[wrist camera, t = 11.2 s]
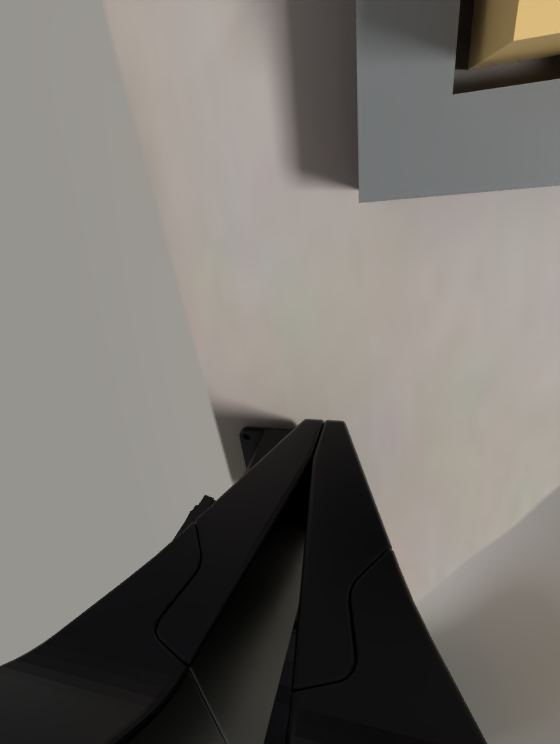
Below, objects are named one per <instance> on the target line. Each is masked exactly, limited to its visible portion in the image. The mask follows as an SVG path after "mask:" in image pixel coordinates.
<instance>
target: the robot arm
mask: <svg viewBox="0 0 560 744" xmlns="http://www.w3.org/2000/svg"><path fill="white" fill-rule="evenodd" d="M246 434H248V435H249V436H247V435H246ZM240 441H241V445H242V450H243V454H244V459H245V463H246V468H247V469H246V472H245V474H244V476H243V477H242V478H240V479H239V480H238V481H237V482H236V483H235V484H234V485H233V486H232V487H231V488H230V489H229V490H228V491H226V493H224V494H223V495H222V496H221V497H220V498H219V499H218V500H217V501H215V500H214V498H212V497H209V496H207V495H205V496H204V497H203V499H202V500H201V502H200V503H199V505H196V506H195V507H194V509H193V510H192V511H190V513H189V515H188V517H187V519H186V521H185V523H184V524H183V526H182V527H181V528H180V530H179V532H178V533H177V535H176V536H175V538H174V539H173V541H172V542H171V543H169V544H168V545H167V546H166V547H165V548H164V549H163V550H161V551H160V552H159V553H158V554H157V555H156V556H155V557H153V558H152V559H151V560H150V561H148V562H147V563H146V564H145V565H144V566H142V567H141V568H140V569H139V570H137V571H136V572H135V573H134V574H132V575H131V576H130V577H129V578H127V579H126V580H125V581H124V582H122V583H121V584H120V585H118V586H117V587H116V588H114V589H113V590H112V591H110V592H109V593H108V594H107V595H105V596H104V597H103V598H102V599H100V600H99V601H98V602H96V603H95V604H94V605H92V606H91V607H90V608H88V609H87V610H86V611H85V612H83V613H82V614H81V615H79V616H78V617H77V618H75V619H74V620H73V621H72V622H70V623H69V624H68V625H66V626H65V627H64V628H63V629H61V630H60V631H59V632H57V633H56V634H55V635H53V636H52V637H51V638H49V639H48V640H46V641H45V642H44V643H42V644H40V645H39V646H37V647H36V648H34V649H32V650H31V651H29V652H28V653H26V654H24V655H22V656H20V657H18V658H16V659H15V660H12V661H10V662H8V663H6V664H4V665H1V666H0V744H487V742H486V740H485V739H484V737H483V735H482V733H481V731H480V729H479V727H478V725H477V723H476V722H475V720H474V718H473V716H472V714H471V712H470V710H469V708H468V706H467V704H466V703H465V701H464V699H463V697H462V695H461V693H460V691H459V689H458V687H457V686H456V684H455V682H454V680H453V678H452V676H451V674H450V672H449V670H448V669H447V667H446V665H445V663H444V661H443V659H442V657H441V655H440V653H439V651H438V649H437V648H436V646H435V644H434V642H433V640H432V638H431V636H430V634H429V632H428V630H427V628H426V626H425V624H424V622H423V620H422V618H421V615H420V614H419V611H418V609H417V607H416V605H415V603H414V601H413V599H412V596H411V594H410V591H409V589H408V587H407V584H406V582H405V579H404V577H403V575H402V572H401V570H400V567H399V564H398V562H397V559H396V556H395V554H394V551H393V550H392V546H391V544H390V541H389V538H388V536H387V533H386V530H385V528H384V525H383V522H382V520H381V517H380V514H379V512H378V509H377V506H376V504H375V501H374V498H373V496H372V493H371V490H370V488H369V485H368V482H367V480H366V477H365V474H364V472H363V469H362V466H361V463H360V461H359V458H358V455H357V453H356V450H355V447H354V445H353V442H352V439H351V437H350V434H349V431H348V429H347V426H346V424H345V422H344V421H336V420H327V421H325V422H324V421H323V420H318V419H305V420H303V421H302V422H301V423H300V424H299V425H298V426H297V427H296V428H295V429H293V430H284V429H268V428H253V427H244V428H243V429H242V430H241V432H240Z"/></svg>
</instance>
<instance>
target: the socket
mask: <svg viewBox="0 0 560 744" xmlns="http://www.w3.org/2000/svg"><path fill="white" fill-rule="evenodd" d="M459 11H460V0H356V49H357V108H358V167H359V203H362V202H374V201H385V200H397V199H408V198H420V197H431V196H443V195H454V194H466V193H477V192H489V191H500V190H512V189H523V188H535V187H546V186H558V185H560V79H554V80H547V81H540V82H534V83H527V84H520V85H513V86H507V87H500V88H493V89H487V90H480V91H473V92H466V93H460V94H453V83H454V71H455V59H456V47H457V35H458V23H459Z"/></svg>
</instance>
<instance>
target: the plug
mask: <svg viewBox="0 0 560 744" xmlns="http://www.w3.org/2000/svg"><path fill="white" fill-rule="evenodd" d="M556 55H560V0H475V2H474V12H473V23H472V33H471V44H470V54H469V64H468V70H471V69H477V68H483V67H489V66H495V65H501V64H507V63H514V62H520V61H526V60H532V59H538V58H544V57H550V56H556Z"/></svg>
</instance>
